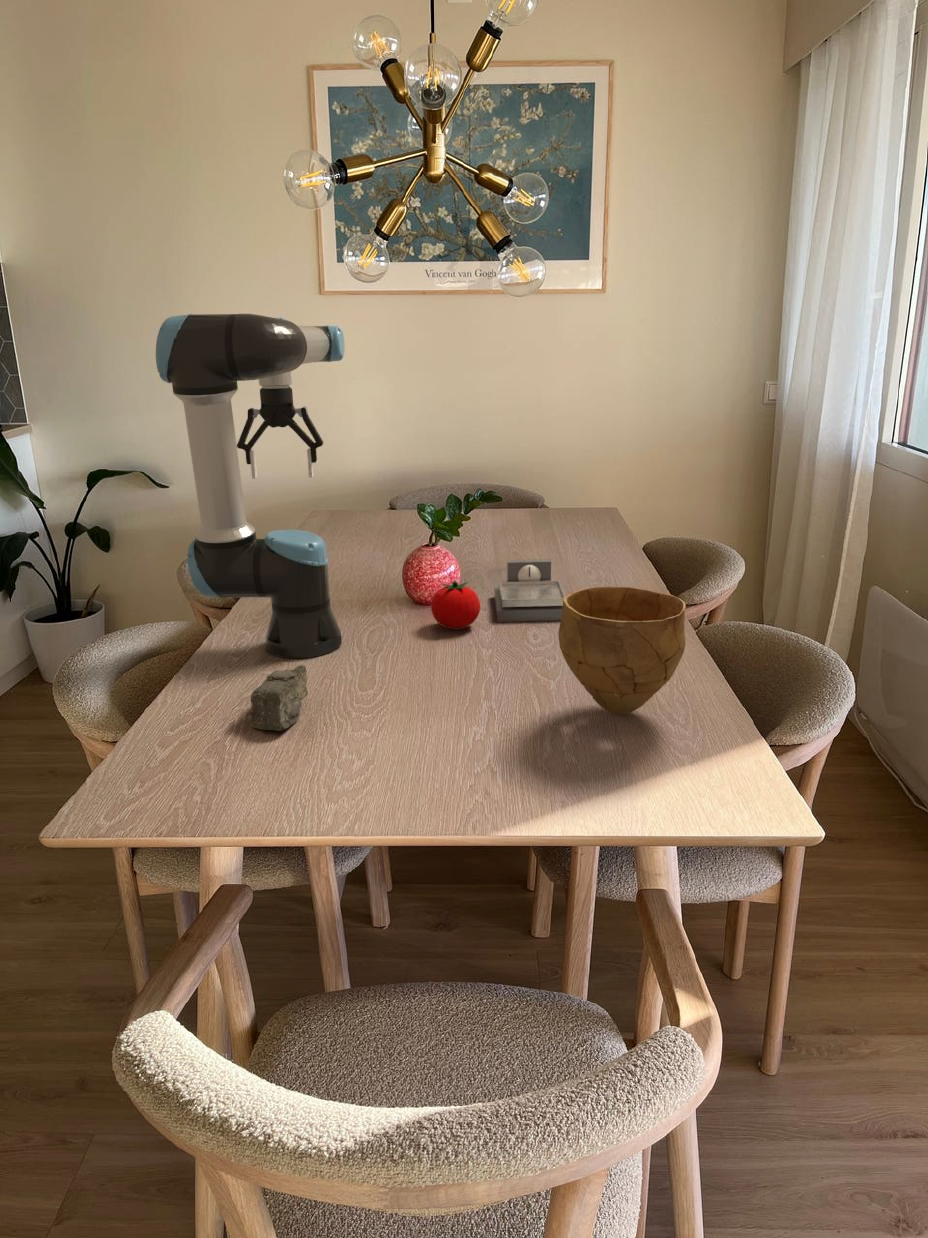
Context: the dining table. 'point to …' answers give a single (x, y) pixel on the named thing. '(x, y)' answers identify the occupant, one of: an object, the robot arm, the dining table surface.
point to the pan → (531, 593)
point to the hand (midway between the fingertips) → (283, 477)
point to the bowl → (622, 643)
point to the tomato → (455, 606)
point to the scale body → (527, 572)
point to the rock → (278, 699)
